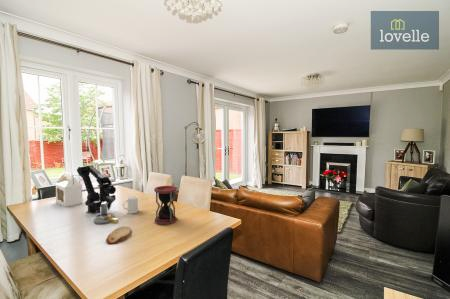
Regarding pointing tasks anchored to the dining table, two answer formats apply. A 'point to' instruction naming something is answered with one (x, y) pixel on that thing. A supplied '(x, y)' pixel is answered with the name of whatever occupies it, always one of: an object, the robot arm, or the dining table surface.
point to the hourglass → (165, 205)
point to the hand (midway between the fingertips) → (104, 211)
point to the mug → (132, 204)
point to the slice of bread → (118, 235)
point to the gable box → (68, 190)
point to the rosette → (105, 218)
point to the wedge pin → (104, 207)
